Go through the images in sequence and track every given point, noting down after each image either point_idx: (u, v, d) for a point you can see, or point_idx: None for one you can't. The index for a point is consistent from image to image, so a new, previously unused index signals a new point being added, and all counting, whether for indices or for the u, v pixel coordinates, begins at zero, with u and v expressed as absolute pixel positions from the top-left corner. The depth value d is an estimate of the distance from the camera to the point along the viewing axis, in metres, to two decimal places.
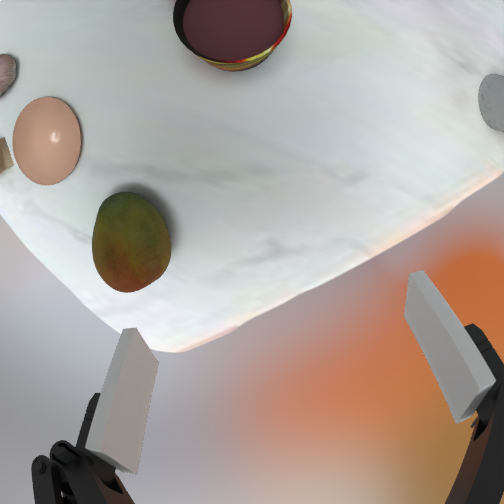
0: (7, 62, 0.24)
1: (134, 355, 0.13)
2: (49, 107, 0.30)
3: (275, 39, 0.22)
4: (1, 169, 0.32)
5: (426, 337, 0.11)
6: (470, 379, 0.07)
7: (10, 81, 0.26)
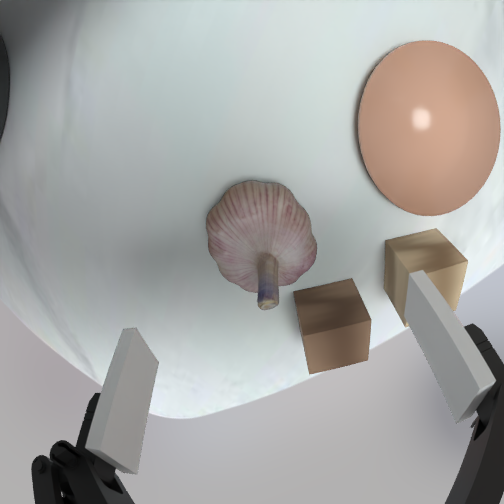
0: (239, 195, 0.17)
1: (134, 354, 0.13)
2: (388, 91, 0.15)
3: None
4: (453, 248, 0.19)
5: (426, 337, 0.11)
6: (470, 379, 0.07)
7: (290, 193, 0.18)
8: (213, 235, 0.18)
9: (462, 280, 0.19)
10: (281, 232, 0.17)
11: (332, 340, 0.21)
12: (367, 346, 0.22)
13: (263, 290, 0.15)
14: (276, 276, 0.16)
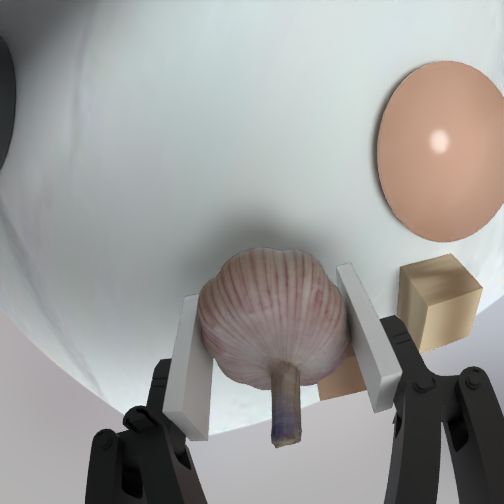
0: (245, 276, 0.12)
1: None
2: (408, 114, 0.15)
3: None
4: (468, 275, 0.18)
5: (351, 327, 0.13)
6: (375, 367, 0.09)
7: (320, 267, 0.12)
8: (207, 329, 0.12)
9: (476, 307, 0.17)
10: (306, 333, 0.11)
11: (345, 368, 0.20)
12: None
13: (280, 424, 0.09)
14: (298, 397, 0.10)
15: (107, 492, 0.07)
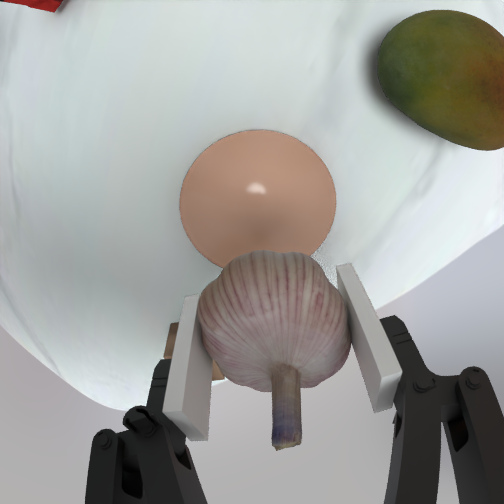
0: (245, 279, 0.12)
1: None
2: (199, 187, 0.24)
3: None
4: None
5: (351, 326, 0.13)
6: (375, 368, 0.09)
7: (320, 269, 0.12)
8: (207, 332, 0.12)
9: None
10: (307, 336, 0.11)
11: None
12: (217, 369, 0.30)
13: (280, 427, 0.09)
14: (298, 400, 0.10)
15: (107, 492, 0.07)
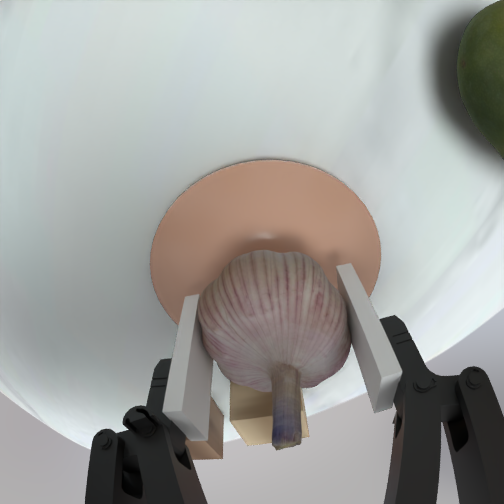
0: (245, 279, 0.12)
1: None
2: (178, 249, 0.15)
3: None
4: None
5: (351, 327, 0.13)
6: (375, 368, 0.09)
7: (320, 269, 0.12)
8: (207, 332, 0.12)
9: (303, 421, 0.19)
10: (307, 336, 0.11)
11: None
12: (214, 452, 0.22)
13: (280, 427, 0.09)
14: (298, 399, 0.10)
15: (107, 492, 0.07)
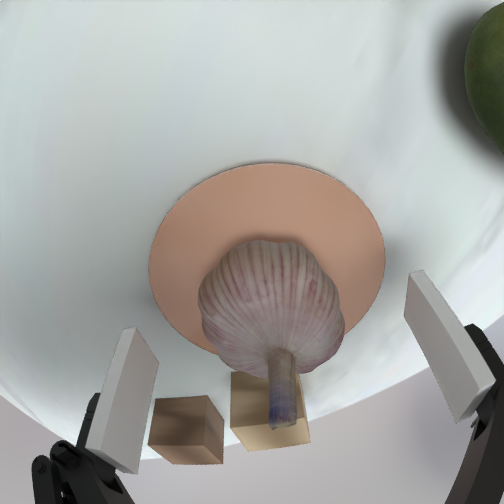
0: (243, 267, 0.12)
1: (134, 354, 0.13)
2: (177, 255, 0.15)
3: None
4: (297, 396, 0.19)
5: (426, 337, 0.11)
6: (470, 379, 0.07)
7: (314, 258, 0.13)
8: (207, 318, 0.13)
9: (305, 428, 0.18)
10: (301, 321, 0.12)
11: (176, 451, 0.20)
12: (214, 457, 0.21)
13: (276, 408, 0.10)
14: (293, 382, 0.11)
15: None
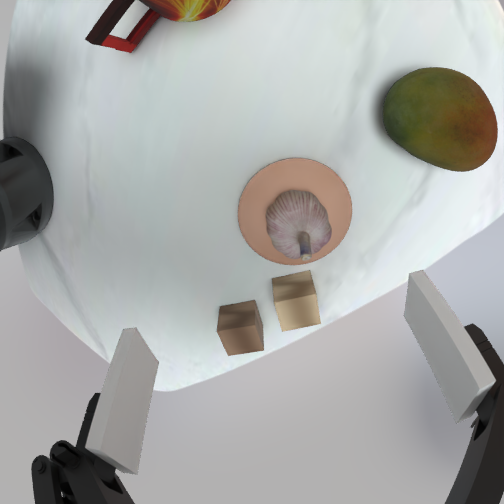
0: (287, 198, 0.30)
1: (134, 355, 0.13)
2: (253, 199, 0.33)
3: None
4: (311, 285, 0.36)
5: (426, 337, 0.11)
6: (470, 379, 0.07)
7: (316, 197, 0.30)
8: (271, 221, 0.30)
9: (316, 305, 0.35)
10: (311, 219, 0.29)
11: (235, 335, 0.38)
12: (259, 341, 0.39)
13: (303, 249, 0.27)
14: (309, 243, 0.28)
15: None
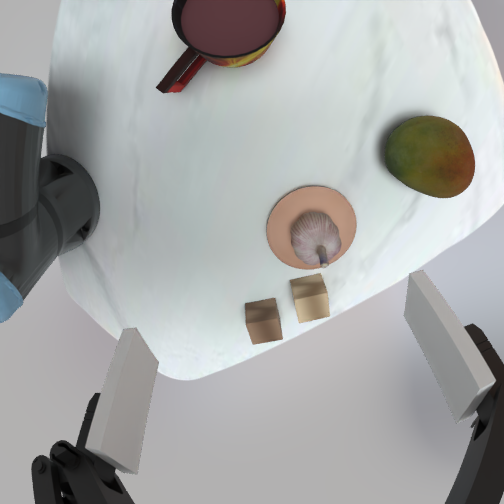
0: (308, 219, 0.38)
1: (134, 355, 0.13)
2: (280, 218, 0.41)
3: None
4: (322, 285, 0.45)
5: (426, 337, 0.11)
6: (470, 379, 0.07)
7: (330, 218, 0.39)
8: (296, 237, 0.39)
9: (327, 301, 0.44)
10: (327, 236, 0.38)
11: (260, 327, 0.46)
12: (279, 331, 0.47)
13: (322, 260, 0.36)
14: (326, 254, 0.37)
15: None
